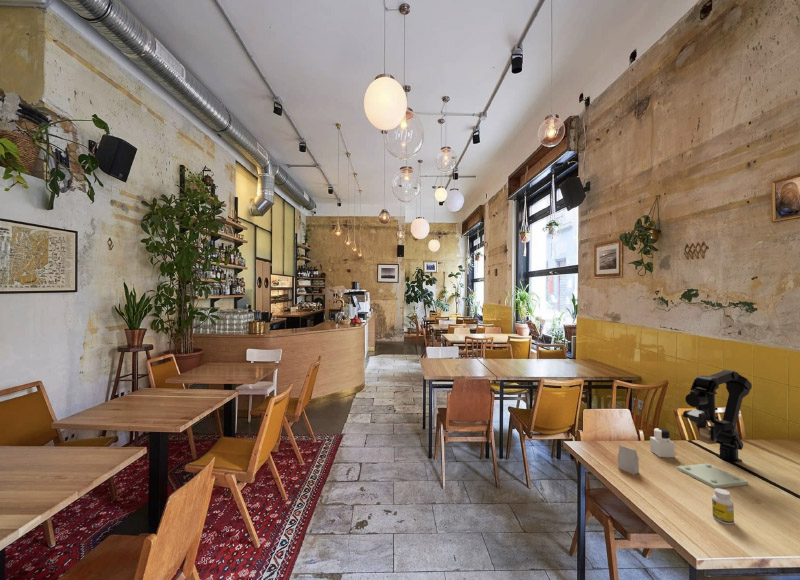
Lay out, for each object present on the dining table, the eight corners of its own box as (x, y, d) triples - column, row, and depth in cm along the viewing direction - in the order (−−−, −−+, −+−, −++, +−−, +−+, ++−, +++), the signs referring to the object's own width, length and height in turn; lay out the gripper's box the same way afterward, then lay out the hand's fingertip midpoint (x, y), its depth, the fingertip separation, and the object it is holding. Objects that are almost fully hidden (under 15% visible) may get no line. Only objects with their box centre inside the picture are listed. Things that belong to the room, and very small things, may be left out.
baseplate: (707, 466, 157) (707, 462, 157) (748, 484, 141) (748, 480, 141) (677, 469, 154) (677, 465, 154) (715, 488, 139) (715, 483, 139)
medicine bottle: (665, 451, 173) (664, 427, 173) (675, 457, 165) (674, 432, 166) (650, 450, 173) (649, 426, 174) (659, 457, 166) (658, 432, 166)
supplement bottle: (708, 515, 121) (707, 487, 122) (722, 514, 122) (721, 486, 122) (724, 525, 116) (723, 496, 116) (738, 524, 117) (737, 495, 117)
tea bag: (634, 474, 150) (633, 451, 150) (618, 468, 156) (617, 445, 156) (638, 472, 152) (638, 449, 152) (622, 466, 158) (622, 444, 158)
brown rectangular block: (707, 440, 161) (706, 427, 161) (716, 443, 157) (715, 430, 157) (700, 440, 160) (699, 427, 160) (709, 444, 156) (708, 430, 156)
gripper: (672, 399, 167) (673, 432, 166) (713, 411, 149) (714, 448, 148) (692, 398, 169) (693, 430, 168) (734, 410, 150) (736, 446, 150)
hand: (707, 438), depth 159 cm, fingers closed on brown rectangular block, 4 cm apart
